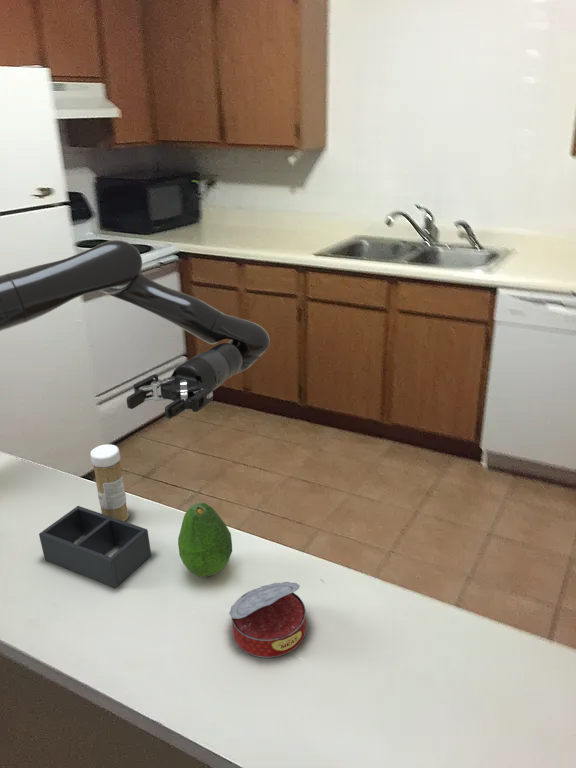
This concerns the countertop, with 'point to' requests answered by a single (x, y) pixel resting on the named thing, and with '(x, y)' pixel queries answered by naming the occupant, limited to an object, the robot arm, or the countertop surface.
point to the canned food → (269, 620)
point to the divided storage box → (96, 545)
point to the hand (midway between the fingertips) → (147, 408)
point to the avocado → (204, 541)
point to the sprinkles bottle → (109, 481)
